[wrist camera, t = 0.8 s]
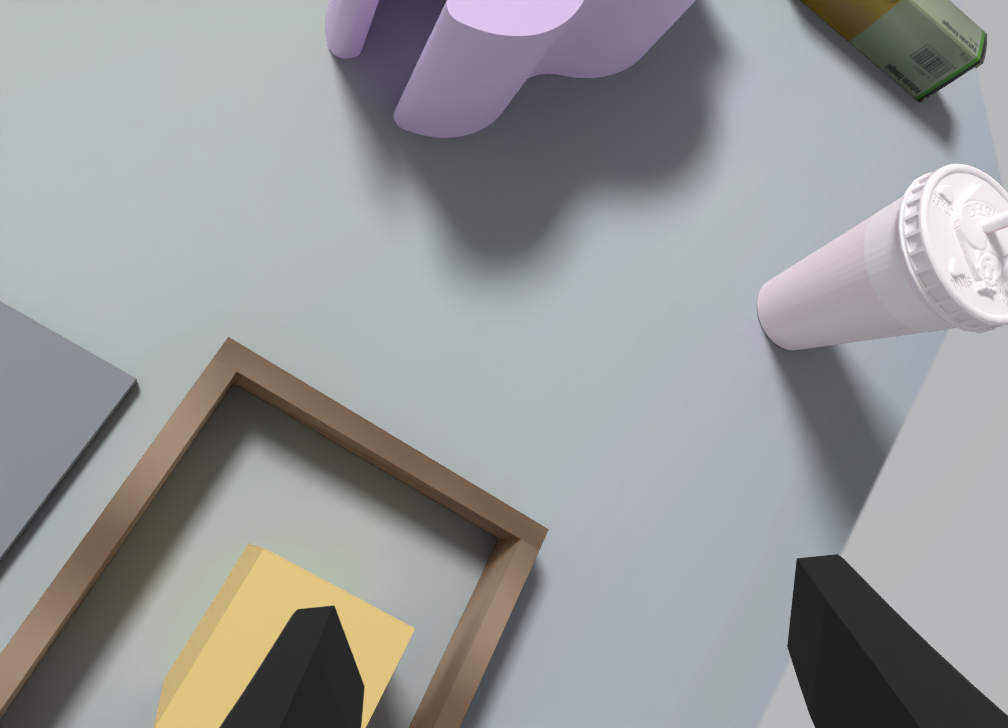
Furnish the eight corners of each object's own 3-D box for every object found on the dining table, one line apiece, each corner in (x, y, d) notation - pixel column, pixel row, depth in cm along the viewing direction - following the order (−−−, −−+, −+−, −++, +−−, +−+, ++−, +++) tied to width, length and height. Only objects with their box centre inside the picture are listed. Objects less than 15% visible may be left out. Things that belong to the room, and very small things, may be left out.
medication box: (927, 76, 44) (992, 34, 40) (920, 106, 43) (986, 66, 39) (783, -48, 41) (840, -105, 37) (772, -18, 40) (829, -74, 36)
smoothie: (835, 270, 37) (1167, 136, 24) (836, 390, 35) (1195, 312, 22) (736, 236, 34) (1045, 69, 22) (732, 362, 33) (1066, 258, 20)
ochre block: (294, 741, 23) (326, 807, 17) (164, 679, 22) (153, 729, 16) (366, 606, 24) (415, 628, 19) (248, 543, 23) (264, 548, 18)
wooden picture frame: (322, 967, 21) (334, 1006, 20) (-97, 803, 19) (-128, 832, 17) (525, 529, 27) (548, 529, 25) (226, 351, 24) (228, 336, 22)
